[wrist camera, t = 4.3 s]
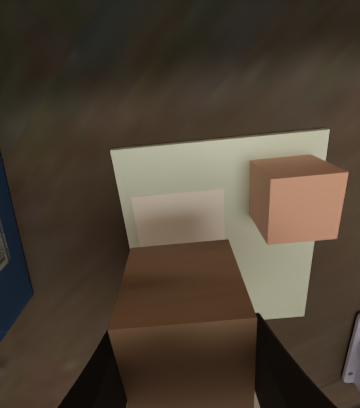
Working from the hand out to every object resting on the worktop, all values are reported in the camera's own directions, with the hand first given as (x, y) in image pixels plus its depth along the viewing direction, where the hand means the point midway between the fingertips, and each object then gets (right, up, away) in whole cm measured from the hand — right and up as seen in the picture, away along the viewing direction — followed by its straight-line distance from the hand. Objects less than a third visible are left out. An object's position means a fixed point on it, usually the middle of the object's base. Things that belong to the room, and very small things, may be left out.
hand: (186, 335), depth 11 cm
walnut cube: (0, +1, +3) cm, 3 cm away
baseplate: (+3, +3, +9) cm, 10 cm away
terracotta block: (+7, +7, +7) cm, 12 cm away
